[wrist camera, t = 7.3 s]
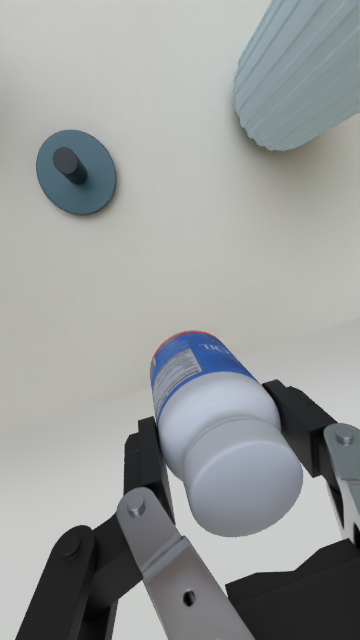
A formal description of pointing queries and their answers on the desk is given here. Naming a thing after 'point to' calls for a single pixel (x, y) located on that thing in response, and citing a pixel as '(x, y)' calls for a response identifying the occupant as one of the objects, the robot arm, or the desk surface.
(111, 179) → the lid
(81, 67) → the desk surface
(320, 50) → the vase
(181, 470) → the pill bottle
